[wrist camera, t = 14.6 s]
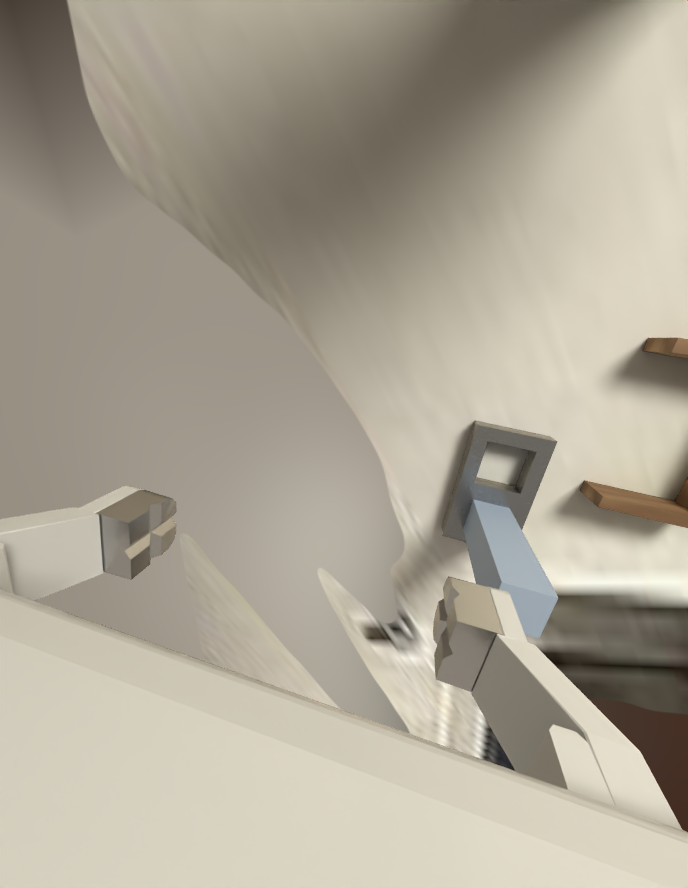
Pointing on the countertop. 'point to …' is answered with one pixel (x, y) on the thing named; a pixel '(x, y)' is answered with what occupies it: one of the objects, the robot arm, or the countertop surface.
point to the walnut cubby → (677, 512)
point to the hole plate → (496, 492)
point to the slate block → (508, 564)
